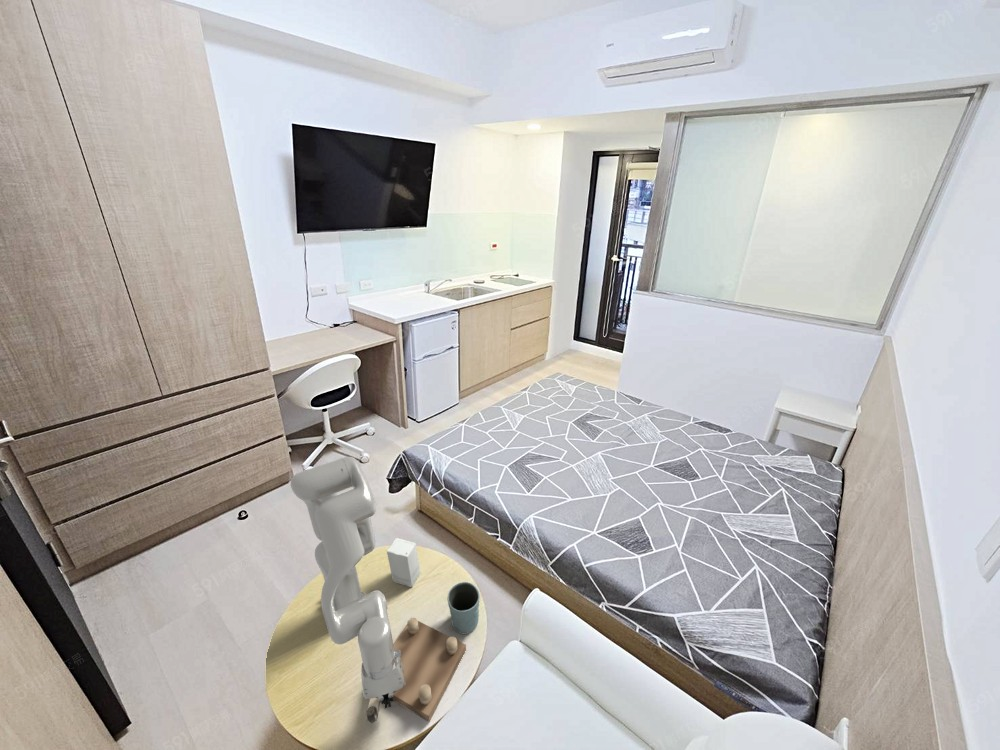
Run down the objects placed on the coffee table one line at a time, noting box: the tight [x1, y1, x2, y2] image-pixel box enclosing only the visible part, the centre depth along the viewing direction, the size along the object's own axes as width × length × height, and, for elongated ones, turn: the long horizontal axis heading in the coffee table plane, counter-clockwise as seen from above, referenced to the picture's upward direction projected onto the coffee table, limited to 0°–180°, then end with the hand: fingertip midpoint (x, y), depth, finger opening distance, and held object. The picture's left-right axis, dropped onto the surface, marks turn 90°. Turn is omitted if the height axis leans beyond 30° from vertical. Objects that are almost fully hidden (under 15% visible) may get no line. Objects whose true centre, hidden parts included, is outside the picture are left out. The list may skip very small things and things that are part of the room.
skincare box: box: [386, 537, 421, 588], centre depth 142 cm, size 8×7×16 cm
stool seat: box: [393, 617, 467, 723], centre depth 117 cm, size 20×20×6 cm
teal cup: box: [446, 581, 480, 635], centre depth 129 cm, size 10×10×12 cm
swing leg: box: [365, 698, 382, 724], centre depth 109 cm, size 13×3×3 cm, turn 178°
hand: (387, 701), depth 107 cm, fingers closed
